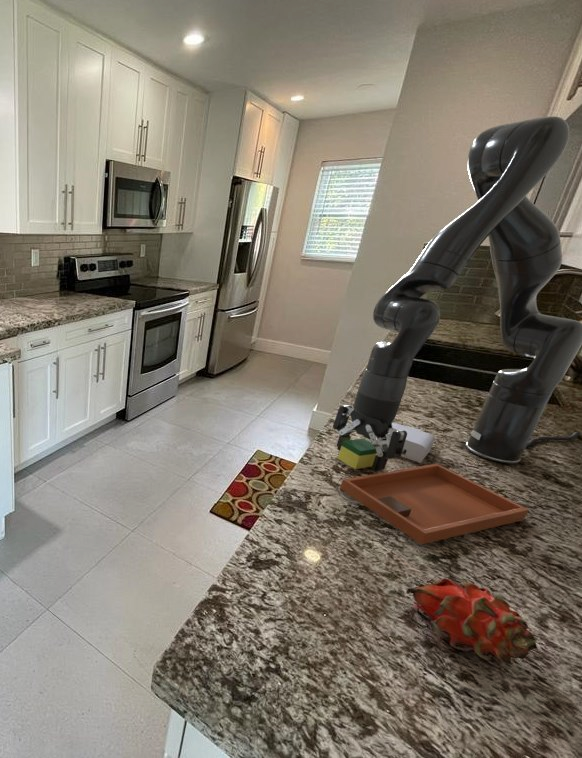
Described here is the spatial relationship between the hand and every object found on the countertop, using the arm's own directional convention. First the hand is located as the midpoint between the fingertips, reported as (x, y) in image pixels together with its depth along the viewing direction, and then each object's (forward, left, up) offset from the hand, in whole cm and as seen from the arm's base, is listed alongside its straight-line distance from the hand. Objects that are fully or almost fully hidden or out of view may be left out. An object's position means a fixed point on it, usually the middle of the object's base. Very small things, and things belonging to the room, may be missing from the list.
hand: (358, 459), depth 91 cm
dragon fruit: (+25, +36, -1) cm, 44 cm away
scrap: (+10, +15, 0) cm, 18 cm away
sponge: (0, 0, -1) cm, 1 cm away
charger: (-19, -4, -1) cm, 19 cm away
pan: (0, +15, -1) cm, 15 cm away
